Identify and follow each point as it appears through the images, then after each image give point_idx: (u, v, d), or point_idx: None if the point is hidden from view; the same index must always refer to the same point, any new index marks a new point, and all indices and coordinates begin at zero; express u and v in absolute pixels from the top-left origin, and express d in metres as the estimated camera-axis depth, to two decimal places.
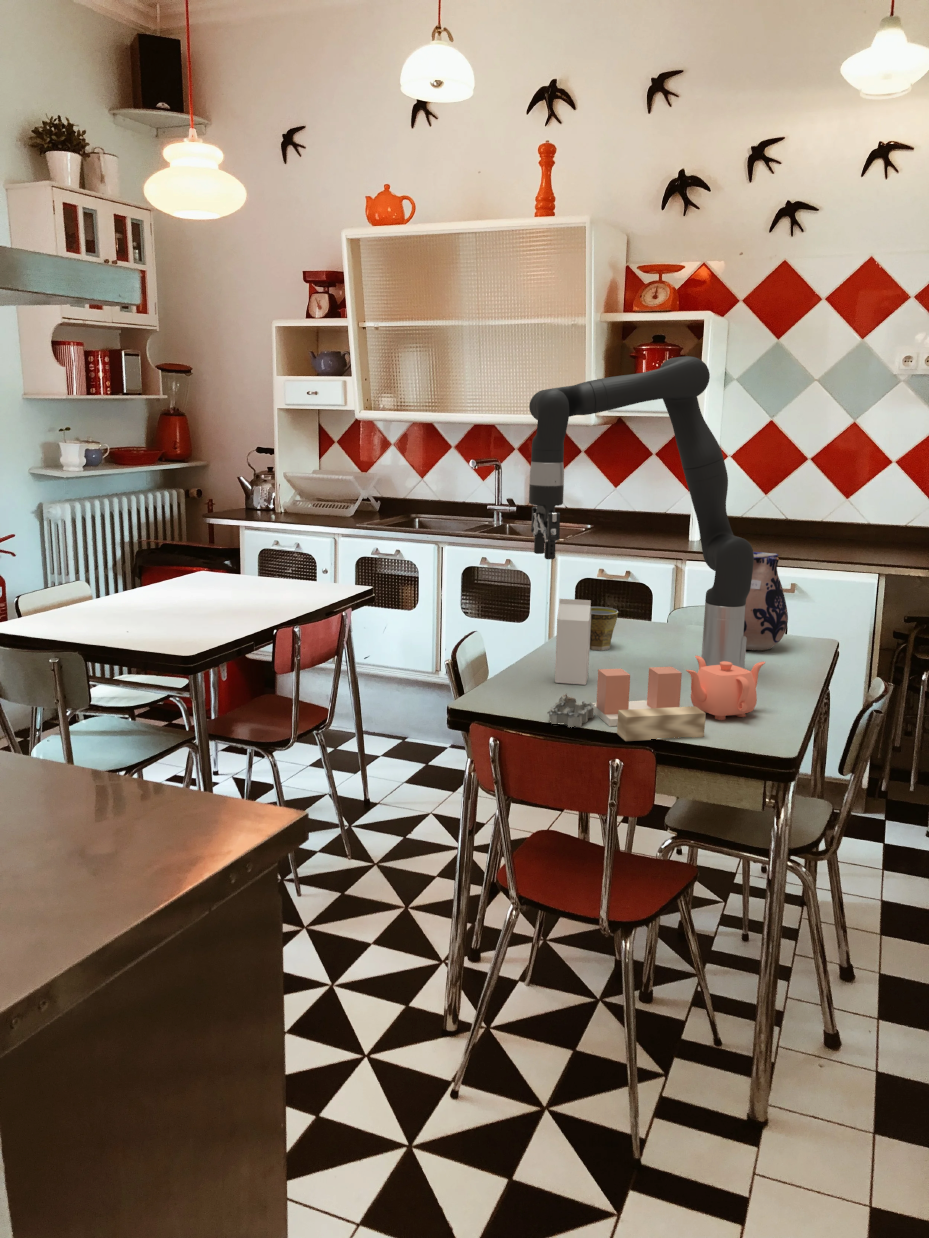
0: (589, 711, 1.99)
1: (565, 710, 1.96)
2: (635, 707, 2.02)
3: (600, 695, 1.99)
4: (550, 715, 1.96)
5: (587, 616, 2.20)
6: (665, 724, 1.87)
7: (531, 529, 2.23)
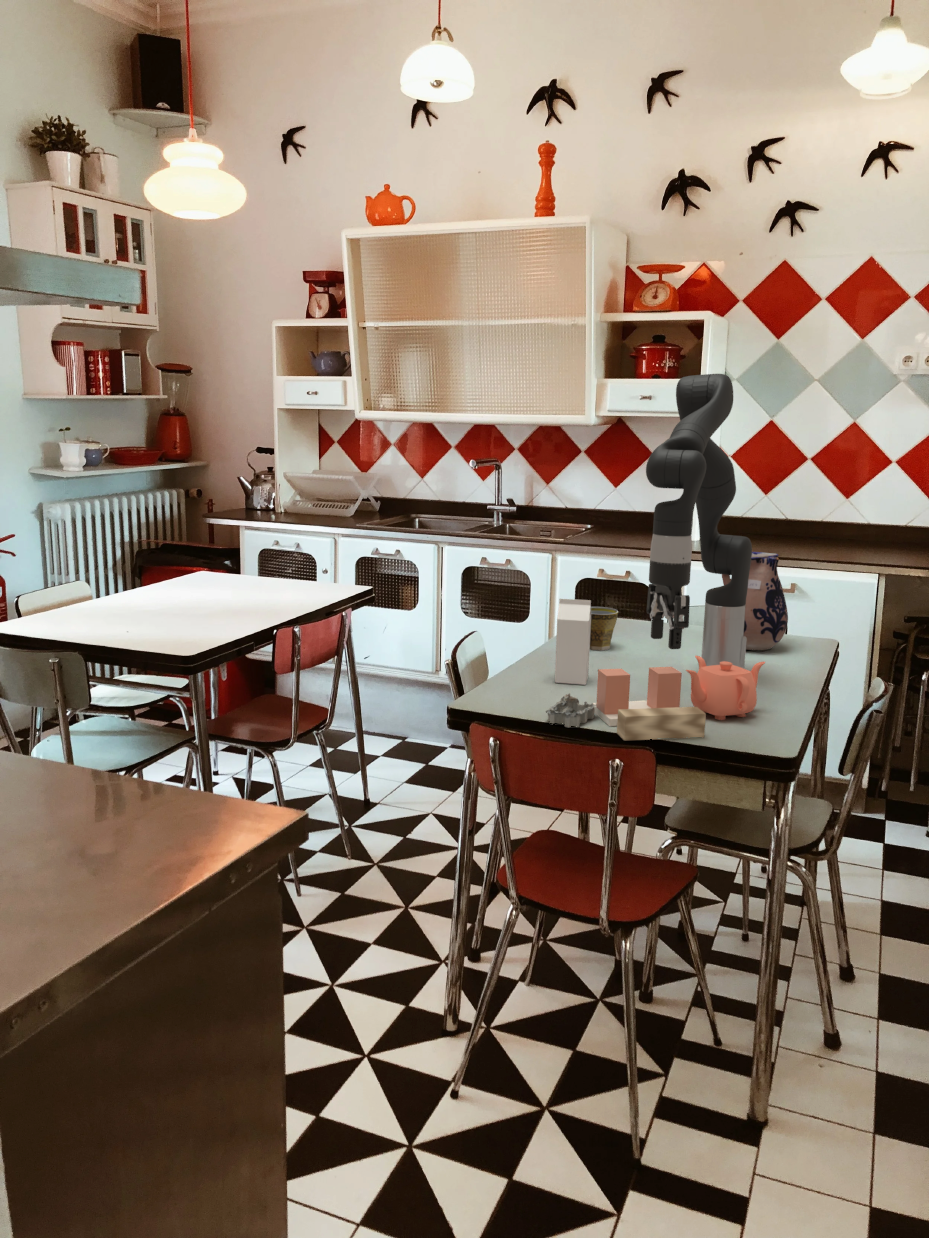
0: (590, 712, 1.99)
1: (564, 710, 1.96)
2: (635, 707, 2.02)
3: (600, 695, 1.99)
4: (549, 714, 1.96)
5: (587, 616, 2.20)
6: (665, 724, 1.87)
7: (647, 609, 1.91)
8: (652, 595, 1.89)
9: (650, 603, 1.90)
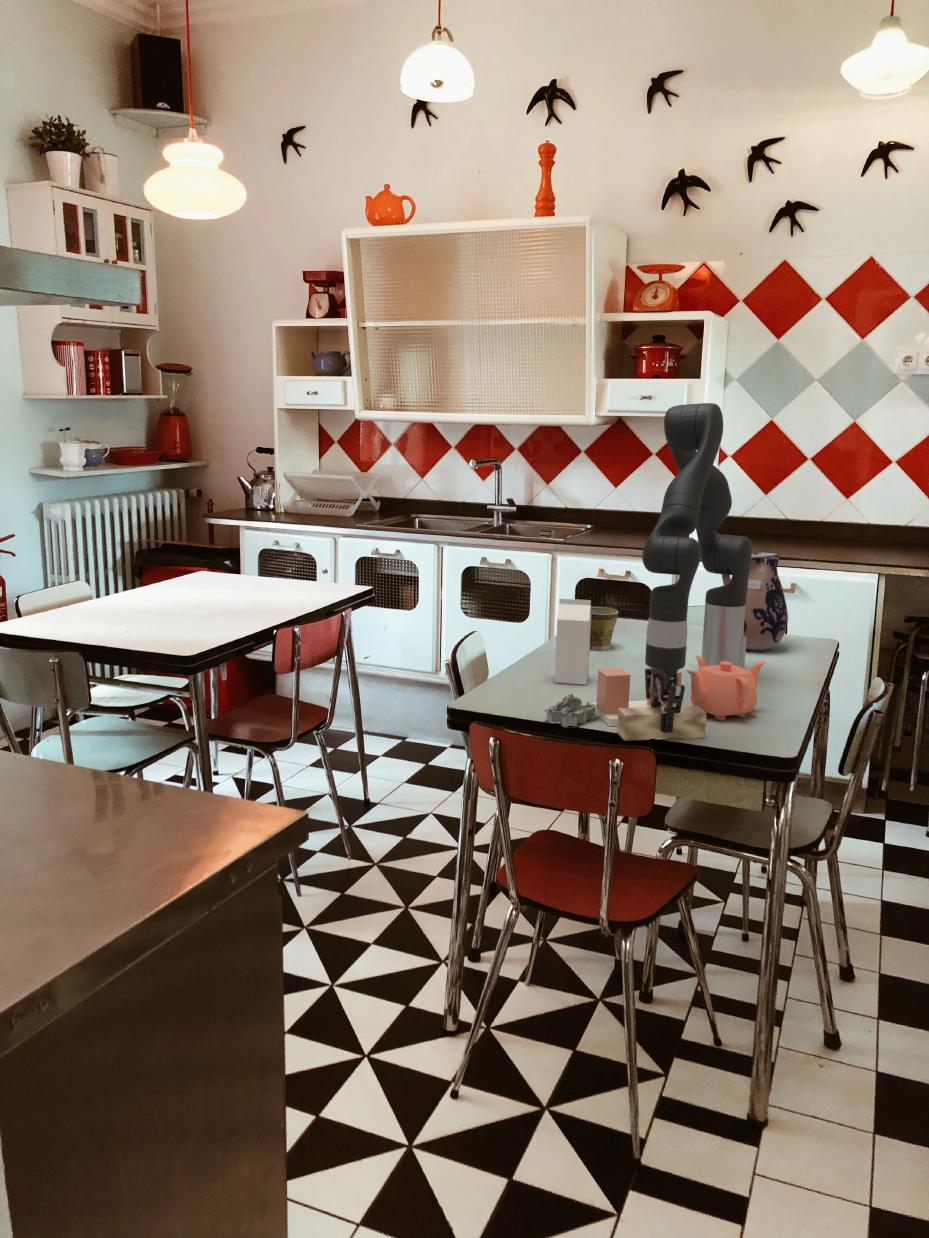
0: (590, 712, 1.98)
1: (563, 709, 1.96)
2: (635, 707, 2.02)
3: (600, 695, 1.99)
4: (547, 713, 1.97)
5: (587, 616, 2.20)
6: None
7: (646, 695, 1.92)
8: (649, 679, 1.92)
9: (648, 687, 1.92)
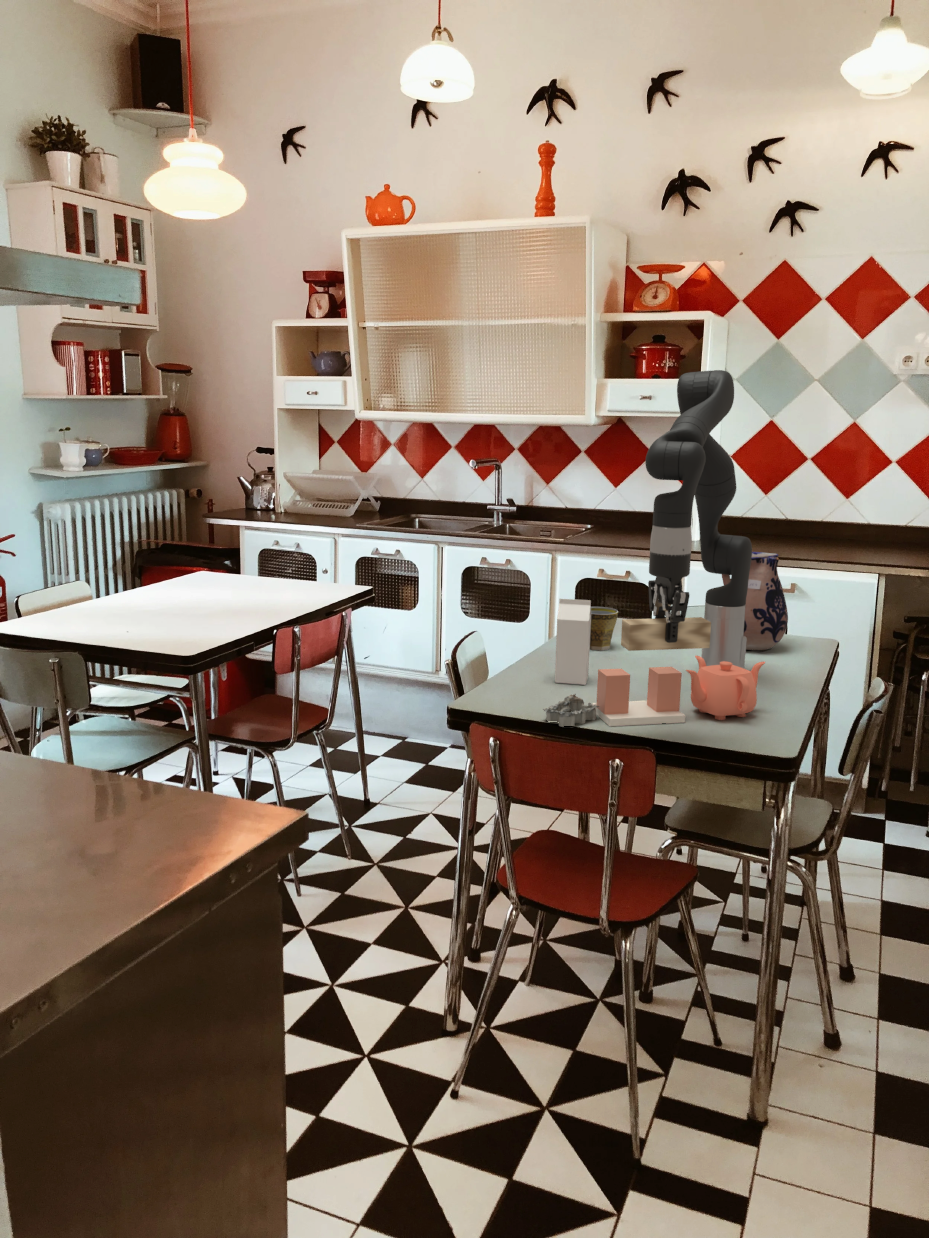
0: (590, 713, 1.98)
1: (562, 709, 1.97)
2: (635, 707, 2.02)
3: (600, 695, 1.99)
4: (547, 713, 1.97)
5: (587, 616, 2.20)
6: None
7: (650, 607, 1.90)
8: (653, 591, 1.90)
9: (652, 599, 1.90)
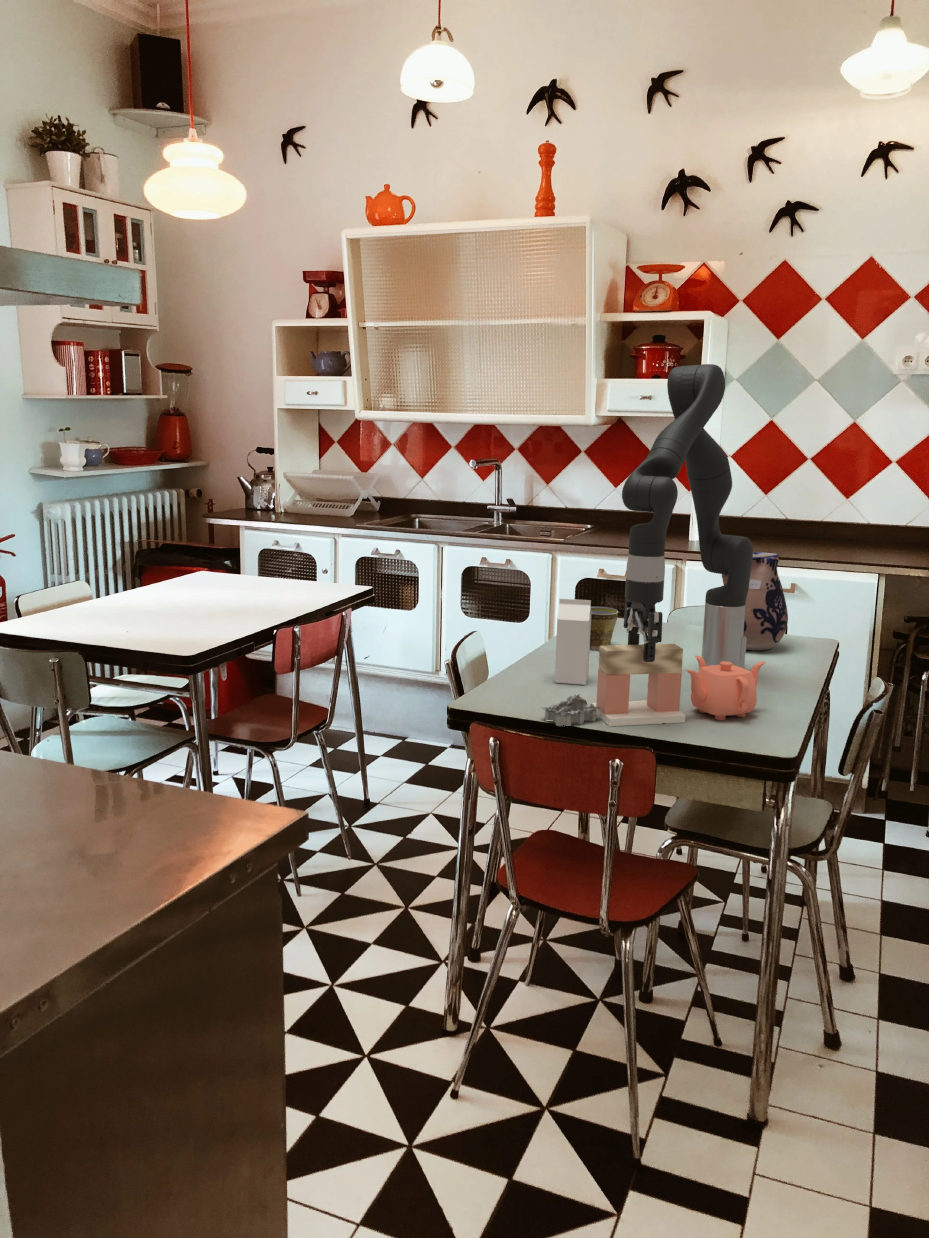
0: (590, 714, 1.97)
1: (561, 709, 1.97)
2: (635, 707, 2.02)
3: (600, 695, 1.99)
4: None
5: (587, 616, 2.20)
6: None
7: (624, 624, 2.03)
8: (629, 611, 2.02)
9: (627, 618, 2.02)
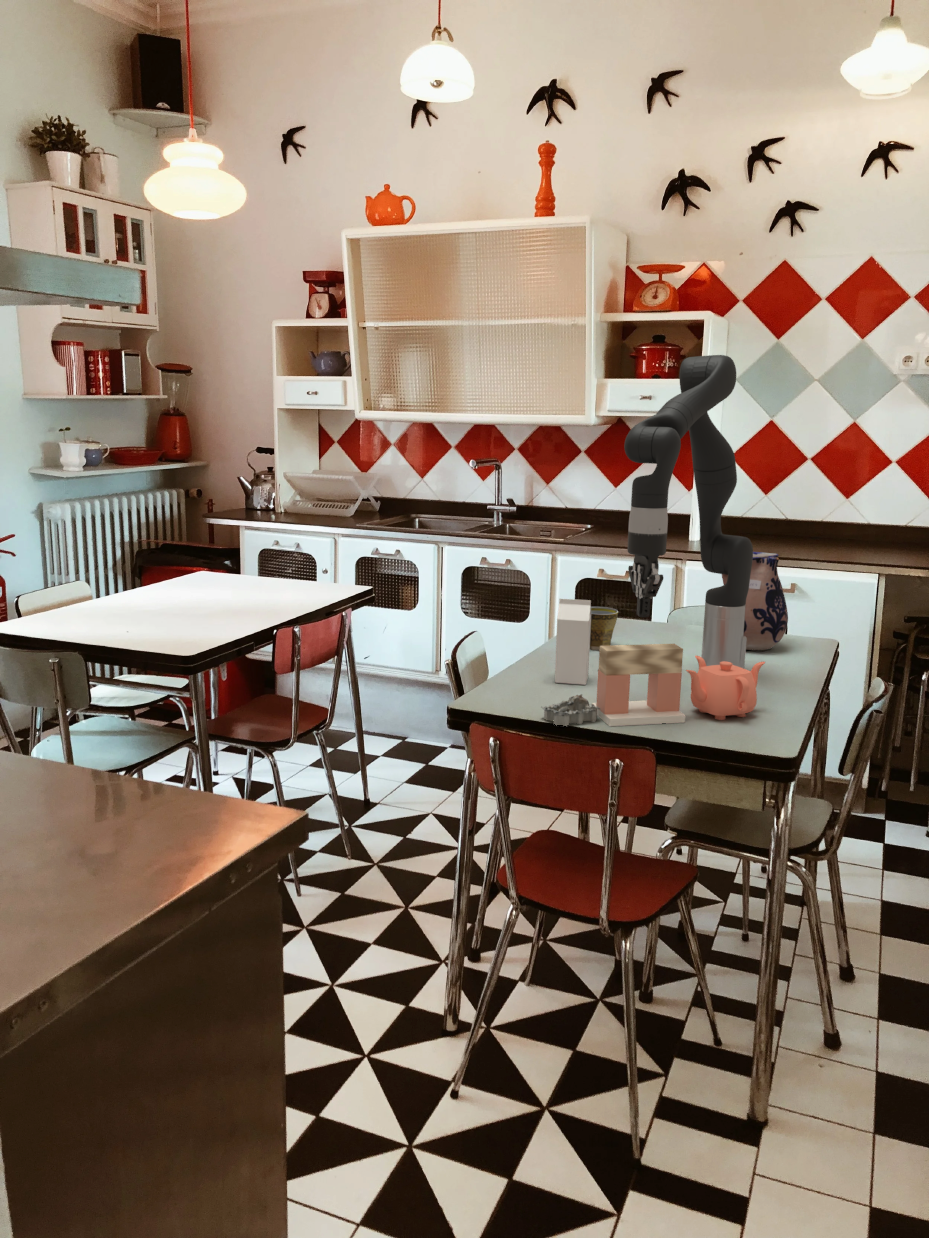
0: (590, 714, 1.97)
1: (560, 708, 1.97)
2: (635, 707, 2.02)
3: (600, 695, 1.99)
4: None
5: (587, 616, 2.20)
6: (644, 659, 1.96)
7: (633, 588, 1.98)
8: (633, 574, 1.99)
9: (634, 581, 1.98)
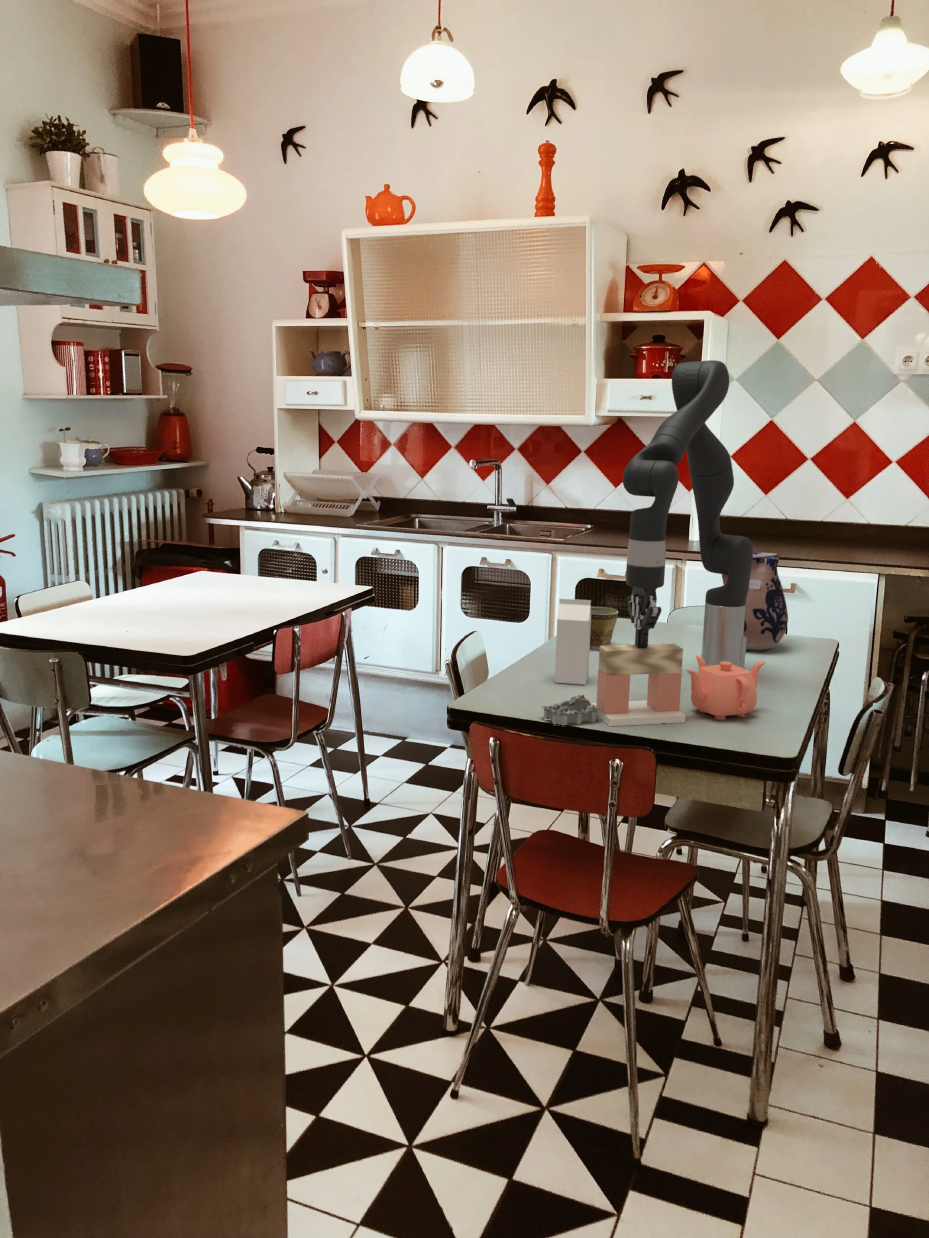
0: (590, 715, 1.97)
1: (560, 708, 1.97)
2: (635, 707, 2.02)
3: (600, 695, 1.99)
4: None
5: (587, 616, 2.20)
6: (644, 659, 1.96)
7: (631, 619, 1.99)
8: (632, 604, 2.00)
9: (632, 612, 1.99)
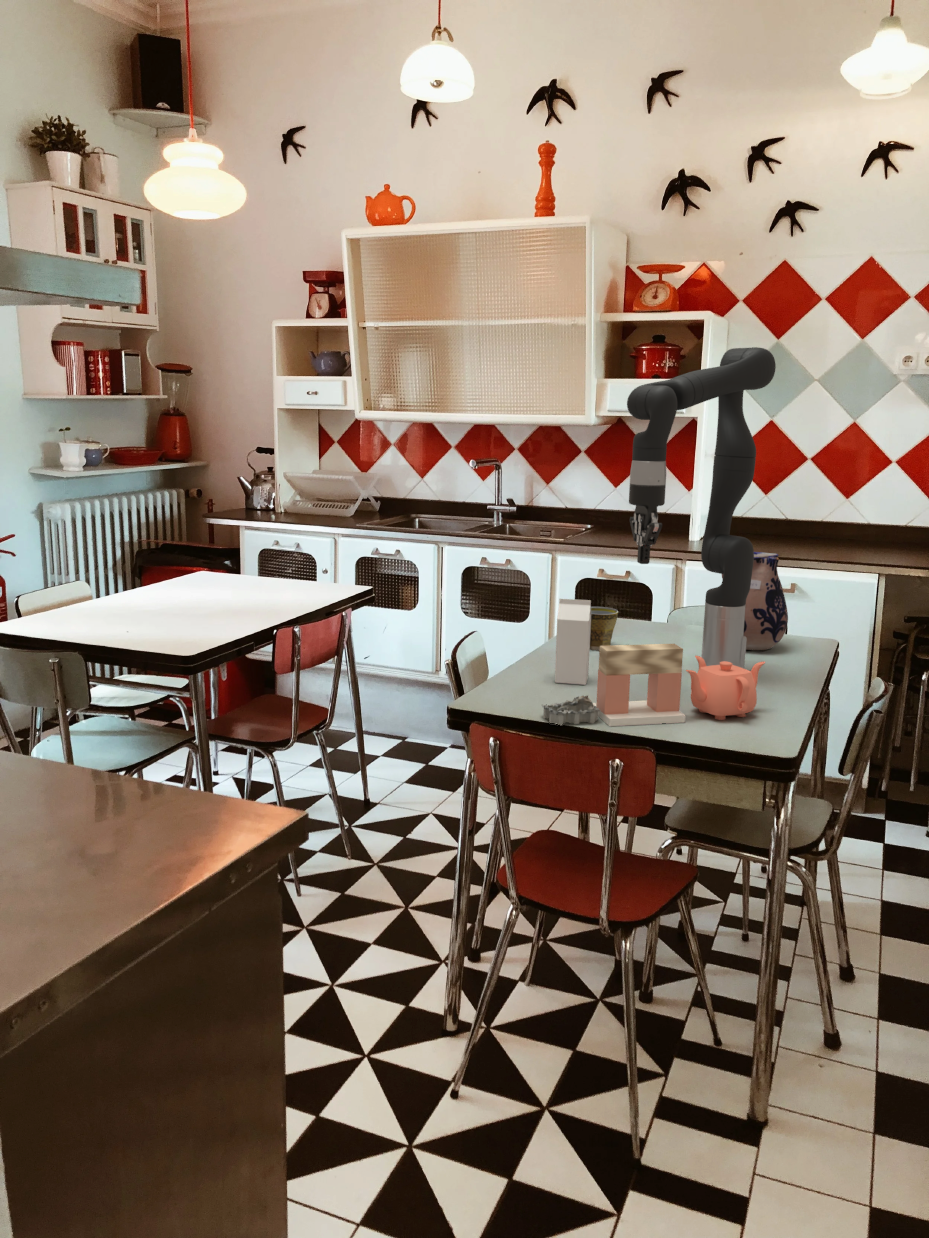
0: (589, 716, 1.96)
1: (559, 707, 1.98)
2: (635, 707, 2.02)
3: (600, 695, 1.99)
4: None
5: (587, 616, 2.20)
6: (644, 659, 1.96)
7: (634, 537, 2.13)
8: (634, 524, 2.14)
9: (635, 531, 2.13)
